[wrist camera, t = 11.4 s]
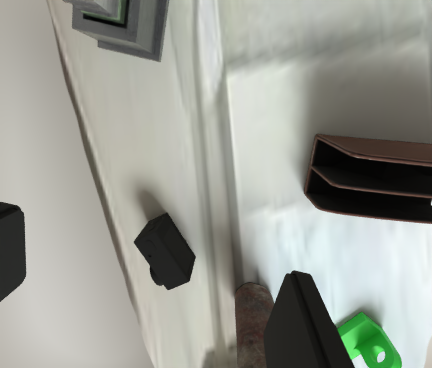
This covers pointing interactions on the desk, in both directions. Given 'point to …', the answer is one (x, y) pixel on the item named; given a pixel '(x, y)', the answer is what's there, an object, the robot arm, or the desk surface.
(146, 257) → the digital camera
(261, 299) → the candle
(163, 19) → the stand base
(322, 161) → the letter holder
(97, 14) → the column
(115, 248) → the desk surface
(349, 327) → the mechanical part
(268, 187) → the desk surface
